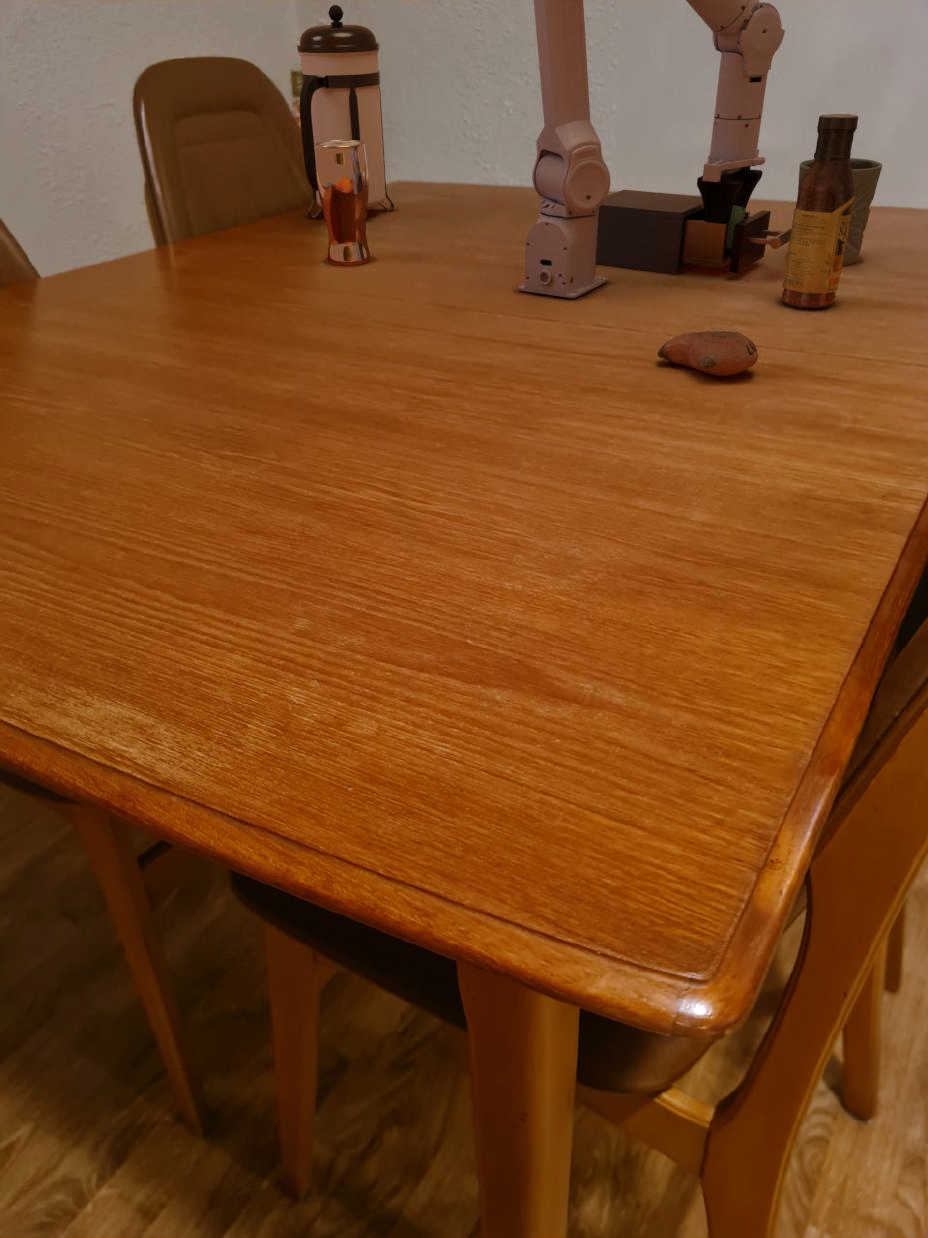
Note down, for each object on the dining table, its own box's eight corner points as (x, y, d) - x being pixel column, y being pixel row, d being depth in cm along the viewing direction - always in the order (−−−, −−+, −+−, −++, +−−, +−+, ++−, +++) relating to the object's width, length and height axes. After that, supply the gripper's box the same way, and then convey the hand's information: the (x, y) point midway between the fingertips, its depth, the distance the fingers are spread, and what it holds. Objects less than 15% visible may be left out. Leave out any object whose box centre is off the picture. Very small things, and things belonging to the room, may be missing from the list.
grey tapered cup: (878, 262, 129) (899, 165, 122) (817, 270, 126) (835, 171, 119) (828, 247, 137) (845, 154, 130) (769, 254, 134) (784, 160, 127)
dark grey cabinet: (708, 255, 134) (715, 197, 129) (675, 274, 126) (682, 212, 121) (619, 245, 140) (623, 189, 136) (583, 262, 132) (586, 202, 128)
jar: (733, 249, 124) (738, 212, 121) (699, 246, 126) (703, 209, 123) (745, 242, 127) (750, 206, 124) (712, 239, 129) (716, 203, 126)
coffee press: (294, 209, 166) (272, 5, 150) (383, 202, 170) (371, 2, 154) (311, 229, 153) (289, 6, 136) (408, 221, 156) (398, 3, 140)
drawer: (795, 260, 127) (803, 213, 124) (770, 277, 120) (778, 229, 117) (677, 246, 135) (681, 202, 132) (646, 262, 128) (650, 215, 124)
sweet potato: (717, 359, 100) (649, 370, 97) (719, 319, 98) (650, 330, 95) (770, 375, 92) (698, 387, 90) (773, 332, 90) (700, 343, 88)
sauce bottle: (837, 311, 110) (875, 118, 99) (781, 309, 111) (813, 118, 100) (831, 296, 116) (866, 111, 105) (777, 294, 117) (807, 111, 106)
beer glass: (377, 254, 137) (370, 139, 129) (368, 266, 132) (360, 146, 123) (330, 254, 138) (320, 139, 130) (319, 266, 132) (308, 146, 124)
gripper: (749, 125, 111) (733, 247, 119) (788, 112, 121) (770, 225, 129) (691, 122, 114) (679, 241, 122) (734, 109, 124) (720, 220, 132)
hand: (723, 233), depth 125 cm, fingers closed on jar, 5 cm apart
